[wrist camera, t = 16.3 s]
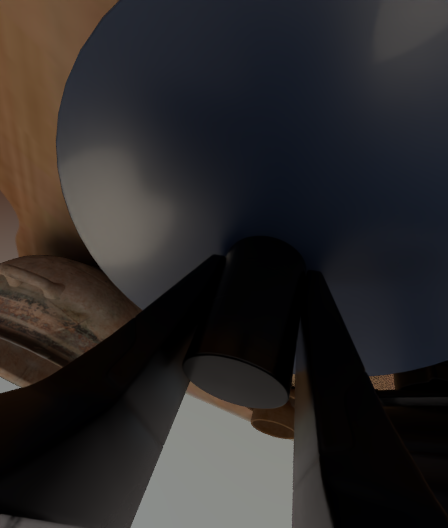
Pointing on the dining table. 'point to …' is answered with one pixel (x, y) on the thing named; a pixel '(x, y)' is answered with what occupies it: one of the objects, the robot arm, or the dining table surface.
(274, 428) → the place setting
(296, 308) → the lid
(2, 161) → the dining table surface
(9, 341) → the cooking pot
